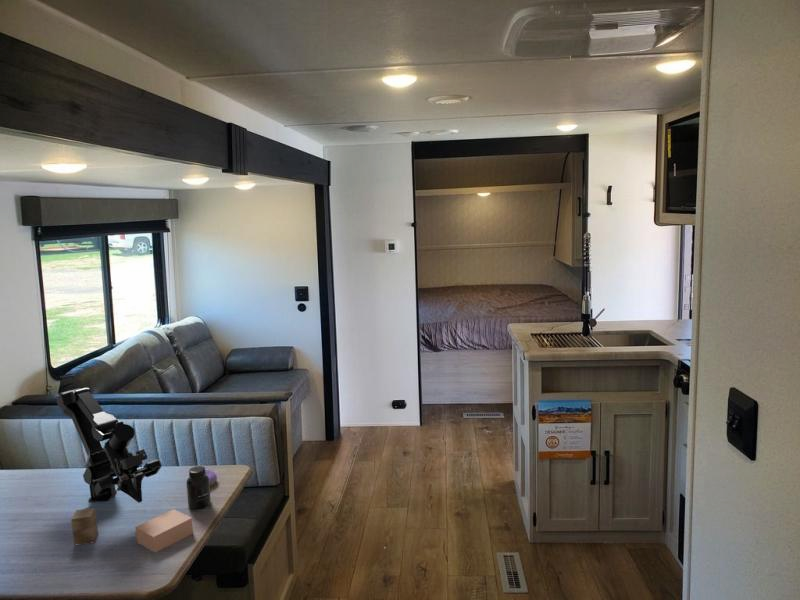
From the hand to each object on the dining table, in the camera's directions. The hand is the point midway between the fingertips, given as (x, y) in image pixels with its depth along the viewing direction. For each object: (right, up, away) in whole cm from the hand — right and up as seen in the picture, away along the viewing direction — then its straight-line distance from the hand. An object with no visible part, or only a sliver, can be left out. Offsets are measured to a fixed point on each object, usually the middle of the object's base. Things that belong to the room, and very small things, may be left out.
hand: (140, 501), depth 183 cm
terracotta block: (+6, -5, -4) cm, 9 cm away
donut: (+10, -3, +25) cm, 27 cm away
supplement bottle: (+14, -5, +11) cm, 19 cm away
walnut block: (-13, -9, -7) cm, 17 cm away
